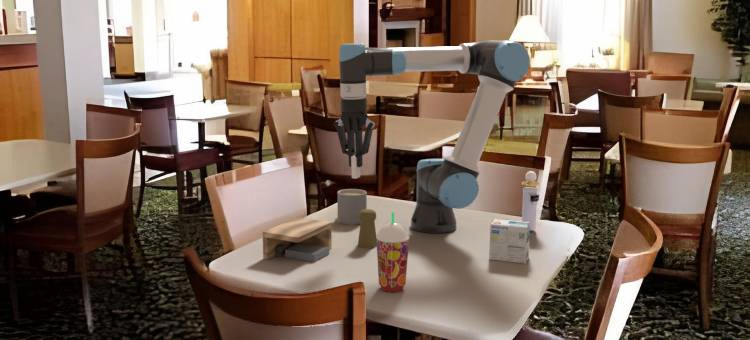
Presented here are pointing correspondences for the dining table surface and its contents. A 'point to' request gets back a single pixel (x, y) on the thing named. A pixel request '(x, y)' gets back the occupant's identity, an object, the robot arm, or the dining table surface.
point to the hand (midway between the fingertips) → (356, 177)
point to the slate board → (307, 252)
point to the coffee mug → (351, 205)
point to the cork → (367, 229)
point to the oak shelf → (295, 236)
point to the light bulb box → (509, 241)
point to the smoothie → (392, 256)
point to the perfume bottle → (530, 199)
